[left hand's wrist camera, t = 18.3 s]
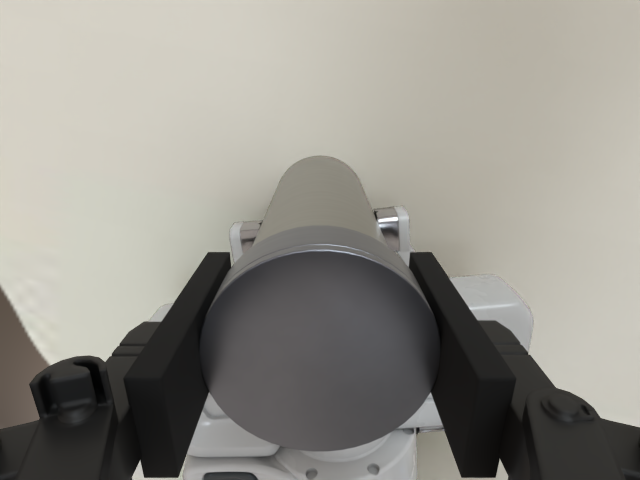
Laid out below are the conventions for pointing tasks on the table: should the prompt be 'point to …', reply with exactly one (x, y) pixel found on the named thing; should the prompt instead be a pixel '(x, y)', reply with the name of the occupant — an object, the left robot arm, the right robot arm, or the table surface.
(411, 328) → the lid
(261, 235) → the jar
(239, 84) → the table surface
